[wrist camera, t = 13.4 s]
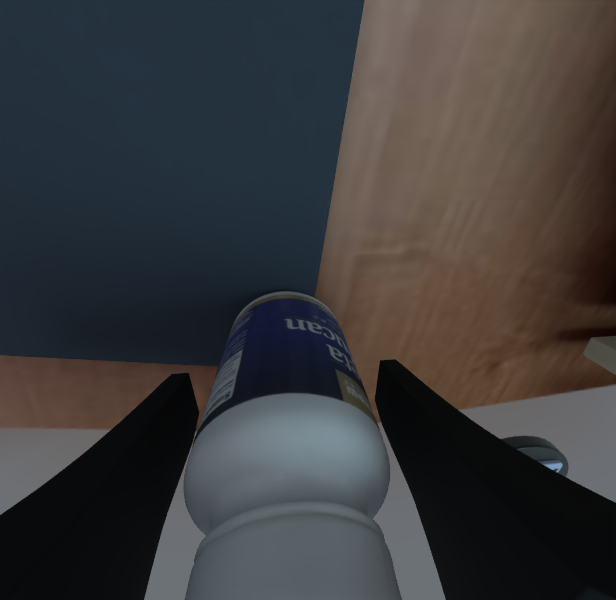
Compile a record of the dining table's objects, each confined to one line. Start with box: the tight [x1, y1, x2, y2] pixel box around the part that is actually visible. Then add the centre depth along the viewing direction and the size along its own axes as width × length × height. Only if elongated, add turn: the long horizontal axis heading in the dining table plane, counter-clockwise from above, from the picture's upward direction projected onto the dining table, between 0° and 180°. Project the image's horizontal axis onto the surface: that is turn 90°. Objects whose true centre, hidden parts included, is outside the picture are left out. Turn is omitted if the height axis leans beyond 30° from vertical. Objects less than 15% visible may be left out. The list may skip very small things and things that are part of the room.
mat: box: [0, 0, 364, 366], centre depth 10 cm, size 15×24×1 cm, turn 82°
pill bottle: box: [184, 291, 402, 600], centre depth 9 cm, size 5×5×10 cm
